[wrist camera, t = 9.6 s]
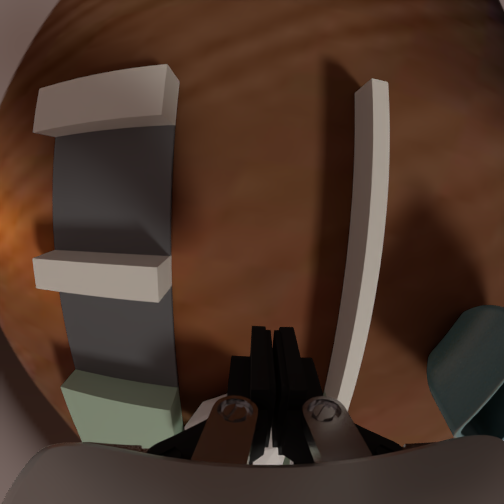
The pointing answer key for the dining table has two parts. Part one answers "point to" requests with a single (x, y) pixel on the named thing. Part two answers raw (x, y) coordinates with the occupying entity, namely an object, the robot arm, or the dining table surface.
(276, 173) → the dining table surface
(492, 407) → the flower pot
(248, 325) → the dining table surface
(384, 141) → the u-shaped rail frame
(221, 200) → the dining table surface
